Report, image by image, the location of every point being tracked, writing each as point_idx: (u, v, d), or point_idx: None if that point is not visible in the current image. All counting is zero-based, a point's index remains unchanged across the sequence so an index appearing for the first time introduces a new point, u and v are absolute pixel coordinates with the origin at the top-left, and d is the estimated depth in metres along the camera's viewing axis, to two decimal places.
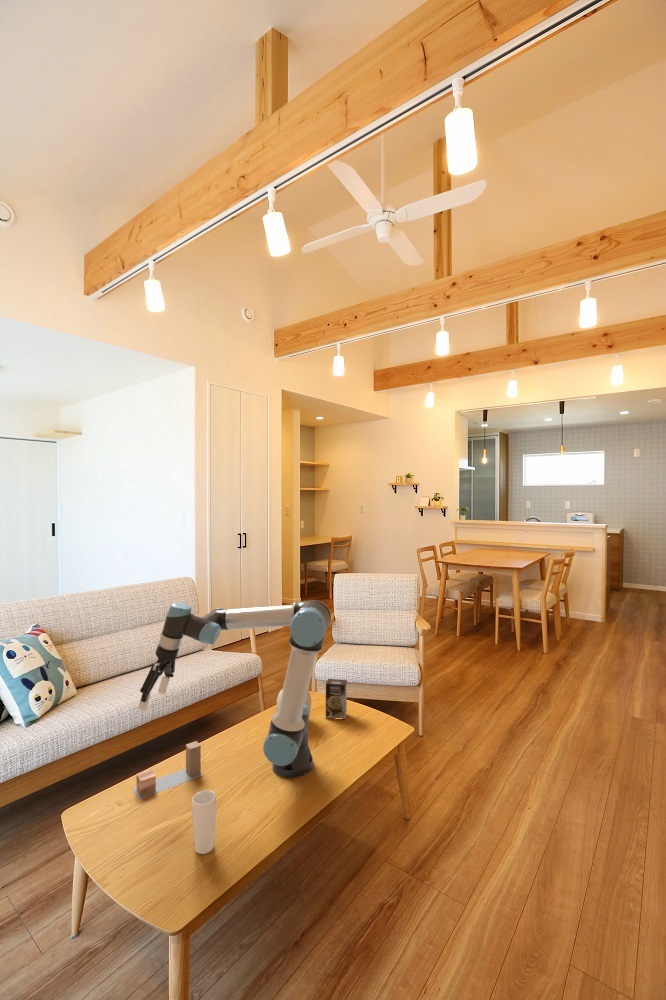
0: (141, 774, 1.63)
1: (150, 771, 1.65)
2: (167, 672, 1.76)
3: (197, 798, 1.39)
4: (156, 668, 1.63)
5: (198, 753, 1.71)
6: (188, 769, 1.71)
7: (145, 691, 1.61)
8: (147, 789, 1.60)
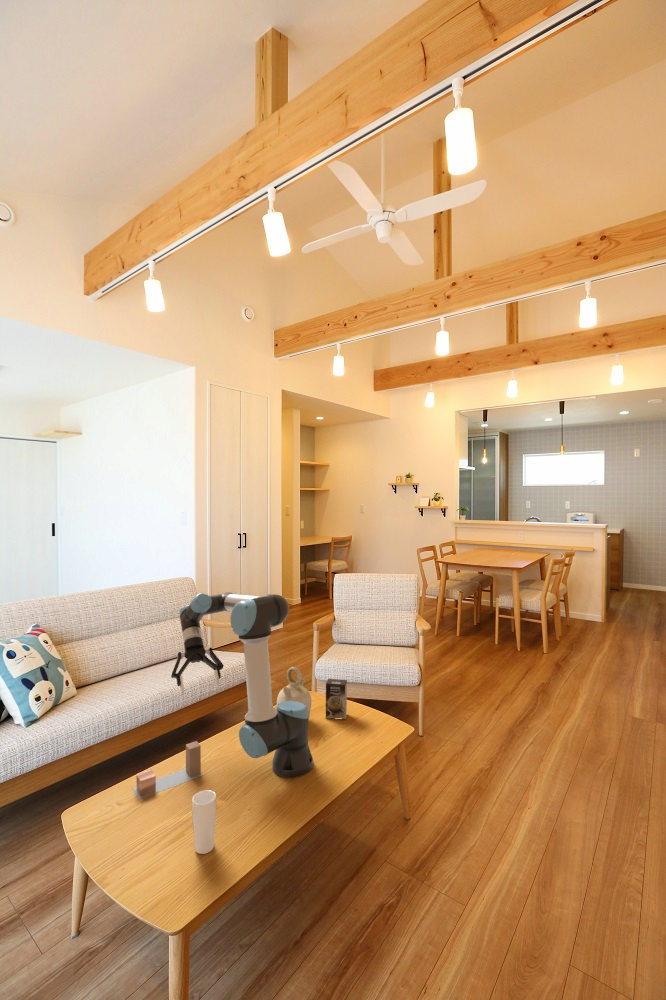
0: (141, 774, 1.63)
1: (150, 771, 1.65)
2: (211, 665, 1.93)
3: (197, 798, 1.39)
4: None
5: (198, 753, 1.71)
6: (188, 769, 1.71)
7: None
8: (147, 789, 1.60)
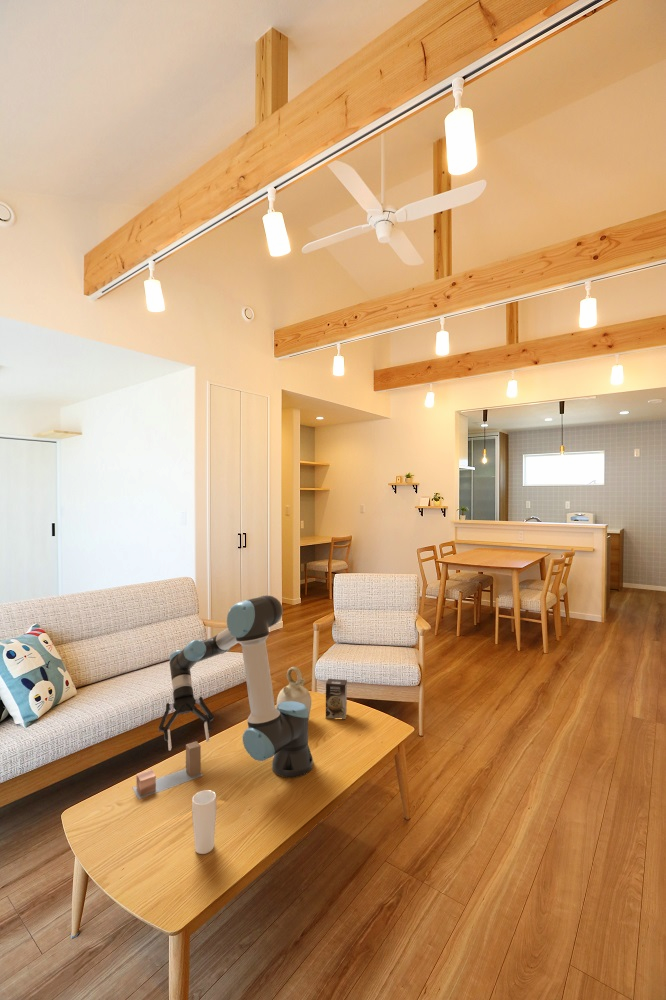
0: (141, 774, 1.63)
1: (150, 771, 1.65)
2: (201, 717, 1.84)
3: (197, 798, 1.39)
4: (166, 706, 1.82)
5: (198, 753, 1.71)
6: (188, 769, 1.71)
7: None
8: (147, 789, 1.60)
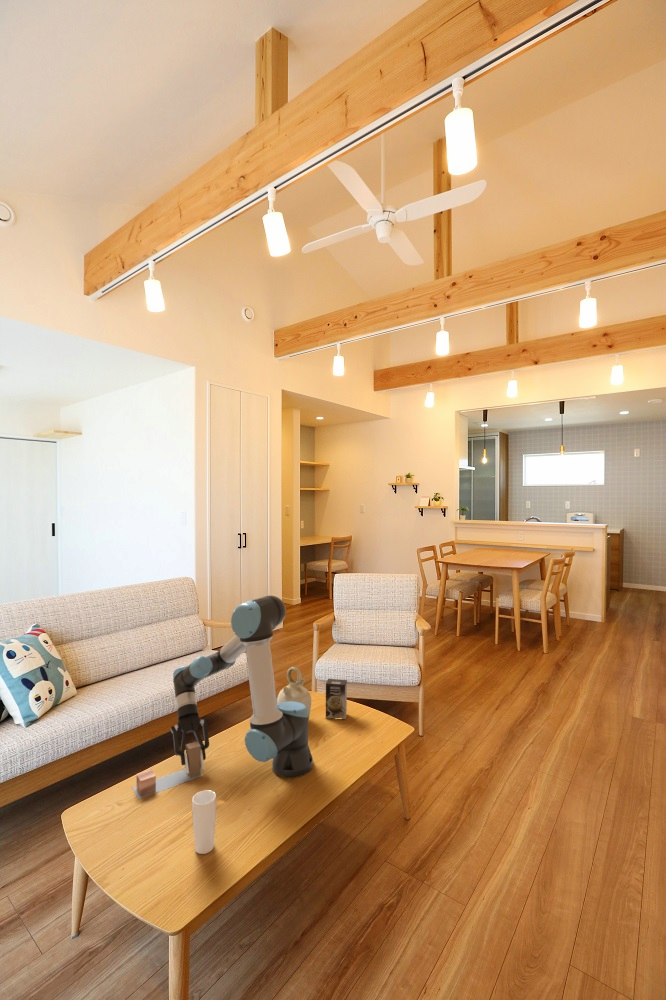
0: (141, 774, 1.63)
1: (150, 771, 1.65)
2: (198, 742, 1.76)
3: (197, 798, 1.39)
4: (171, 730, 1.76)
5: (198, 753, 1.71)
6: None
7: None
8: (147, 789, 1.60)
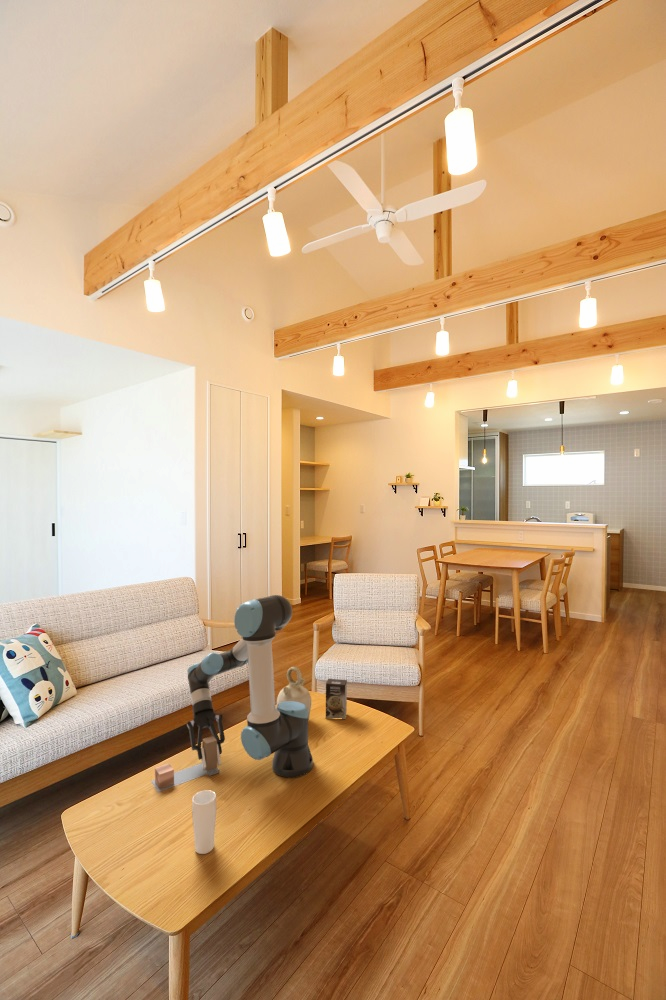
0: (159, 768, 1.67)
1: (168, 765, 1.68)
2: (214, 736, 1.80)
3: (197, 798, 1.39)
4: (188, 725, 1.79)
5: (214, 747, 1.75)
6: None
7: None
8: (166, 782, 1.64)
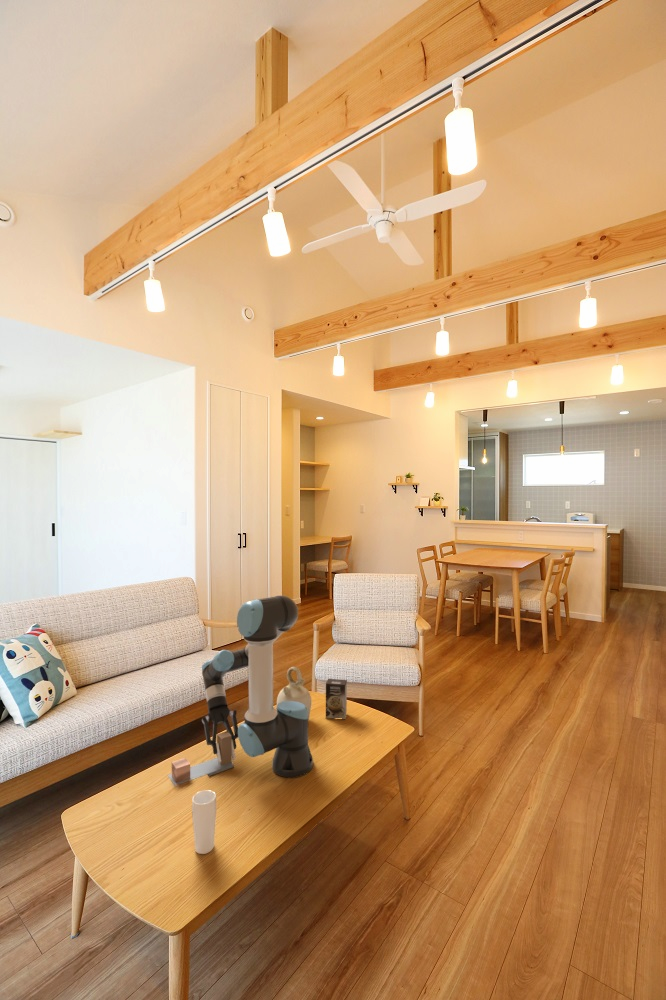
0: (176, 762, 1.70)
1: (184, 759, 1.72)
2: (228, 732, 1.83)
3: (197, 798, 1.39)
4: (203, 720, 1.83)
5: (229, 743, 1.78)
6: None
7: None
8: (182, 776, 1.68)
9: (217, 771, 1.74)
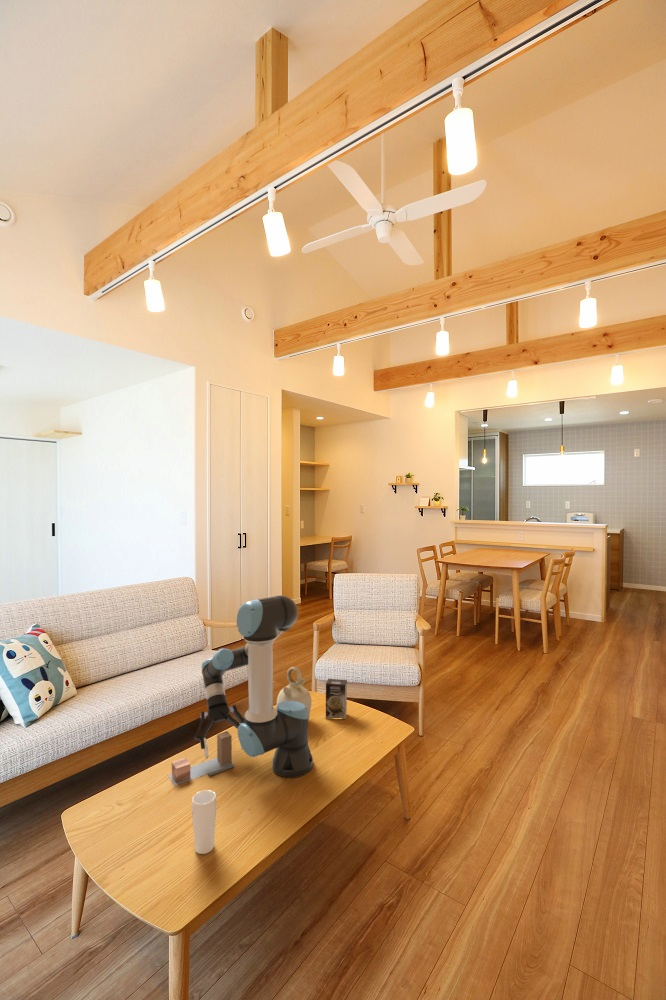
0: (176, 762, 1.70)
1: (184, 759, 1.72)
2: (235, 725, 1.86)
3: (197, 798, 1.39)
4: (201, 714, 1.84)
5: (229, 742, 1.79)
6: (219, 758, 1.78)
7: None
8: (182, 776, 1.68)
9: (217, 771, 1.74)
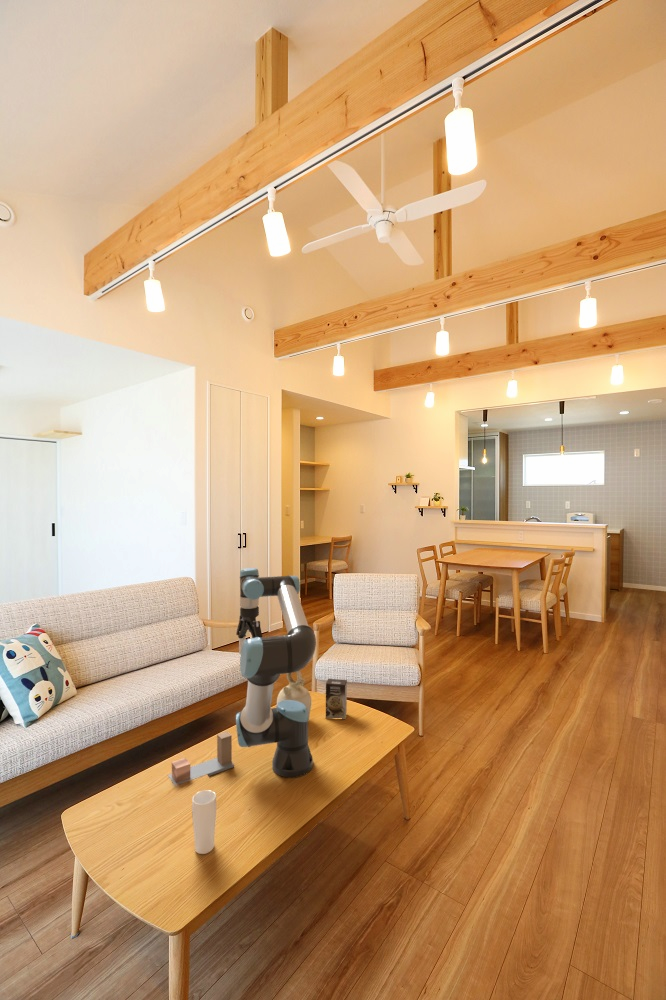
0: (176, 762, 1.70)
1: (184, 759, 1.72)
2: None
3: (197, 798, 1.39)
4: None
5: (229, 742, 1.79)
6: (219, 758, 1.78)
7: None
8: (182, 776, 1.68)
9: (217, 771, 1.74)
